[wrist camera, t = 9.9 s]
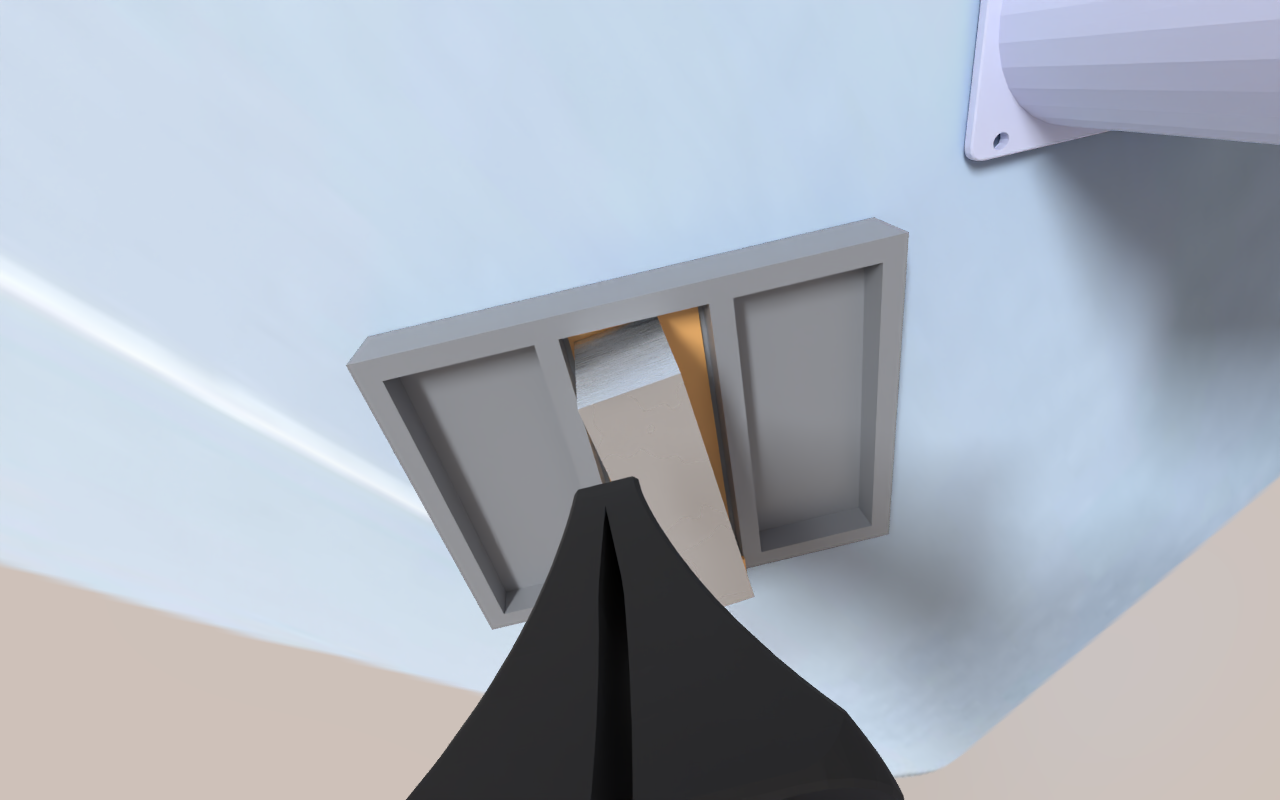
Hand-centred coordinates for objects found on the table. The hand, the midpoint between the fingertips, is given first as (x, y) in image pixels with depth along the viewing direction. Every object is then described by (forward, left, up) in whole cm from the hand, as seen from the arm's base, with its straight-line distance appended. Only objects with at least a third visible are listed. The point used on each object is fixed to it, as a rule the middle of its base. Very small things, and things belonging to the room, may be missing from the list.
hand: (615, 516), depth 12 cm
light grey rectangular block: (-1, +4, -8) cm, 9 cm away
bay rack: (-1, +5, -9) cm, 11 cm away
